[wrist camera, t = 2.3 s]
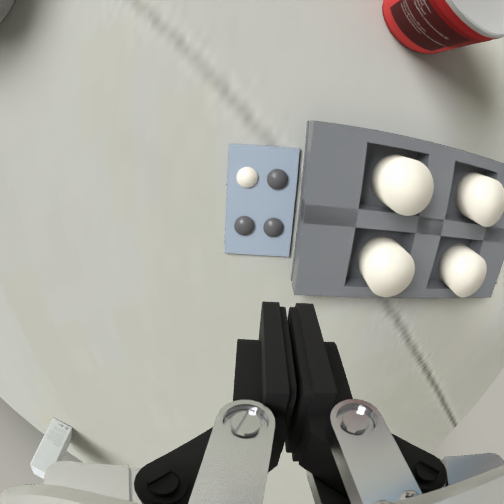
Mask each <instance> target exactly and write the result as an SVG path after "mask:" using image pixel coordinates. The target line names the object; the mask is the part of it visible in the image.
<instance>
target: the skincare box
mask: <svg viewBox="0 0 504 504" xmlns="http://www.w3.org/2000/svg"><path fill="white" fill-rule="evenodd" d="M71 436H72V427H70V426H68V425H66V424H64V423H63V422H61V421H59V420H57V419H55V418H53V419H52V421H51V423H50V425H49V427H48V429H47V431H46V433H45V435H44V437H43V439H42V441H41V443H40V445H39V447H38V449H37V451H36V453H35V455H34V457H33V459H32V461H31V464H30V465H31V467H32V470H33V473H34V474H36V475H37V476H39V477H41V478H43V479H44V475H45V472H46V470H47V468H48V467H49V466H50V465H51V464H53V463H55V462H58V461H62V459H63V457H64V454H65V452H66V450H67V448H68V446H69V443H70V441H71Z"/></svg>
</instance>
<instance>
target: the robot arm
mask: <svg viewBox="0 0 504 504" xmlns="http://www.w3.org/2000/svg"><path fill="white" fill-rule="evenodd" d="M284 442H285V446H286V452H287V453H292V458H293V461H299V465H300V466H302V467H303V468H304V469H306V470H307V478H308V482H309V485H310V488H311V492H312V495H313V498H314V501H315V504H504V460H503V459H502V458H501V457H500V456H499V455H497V454H494V453H486V454H475V455H464V456H450V457H444V459H442V460H440V459H438V458H437V457H435V456H434V455H432V454H430V453H428V452H426V451H424V450H422V449H420V448H418V447H416V446H414V445H412V444H410V443H409V442H407V441H405V440H403V439H401V438H399V437H397V436H395V435H394V434H392V433H391V432H390V430H389V428H388V427H387V425H386V423H385V421H384V419H383V417H382V415H381V414H380V412H379V411H378V410H377V408H376V407H374V406H373V405H372V404H370V403H368V402H366V401H364V400H358V399H353V398H352V394H351V391H350V388H349V384H348V381H347V378H346V374H345V371H344V368H343V365H342V361H341V358H340V355H339V352H338V349H337V346H336V344H335V343H334V342H324V341H323V337H322V334H321V330H320V326H319V323H318V319H317V316H316V312H315V309H314V305H313V304H305V303H296V305H295V307H290V308H289V313H288V320H287V315H286V308H285V307H280V305H279V302H262V310H261V321H260V331H259V340H245V339H238V340H237V353H236V367H235V380H234V394H233V402H230V403H228V404H226V405H225V406H224V407H223V408H221V409H220V411H219V413H218V415H217V417H216V420H215V423H214V426H213V427H212V428H211V429H209V430H207V431H206V432H204V433H202V434H201V435H199V436H197V437H196V438H194V439H192V440H191V441H189V442H187V443H185V444H184V445H182V446H180V447H178V448H177V449H175V450H173V451H171V452H169V453H168V454H166V455H164V456H162V457H160V458H158V459H156V460H154V461H153V462H151V463H149V464H147V465H145V466H144V467H143V468H130V467H129V465H109V464H94V463H82V462H73V461H58V462H55V463H53V464H51V465H50V466H49V467H48V468H47V470H46V472H45V475H44V482H43V484H26V485H18V486H13V487H10V488H8V489H6V490H5V491H3V492H2V493H1V494H0V504H262V503H263V498H264V492H265V486H266V480H267V474H268V472H270V471H271V470H272V469H273V468H274V467H276V466H277V465H278V461H279V458H280V454H281V452H282V449H283V446H284Z"/></svg>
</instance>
